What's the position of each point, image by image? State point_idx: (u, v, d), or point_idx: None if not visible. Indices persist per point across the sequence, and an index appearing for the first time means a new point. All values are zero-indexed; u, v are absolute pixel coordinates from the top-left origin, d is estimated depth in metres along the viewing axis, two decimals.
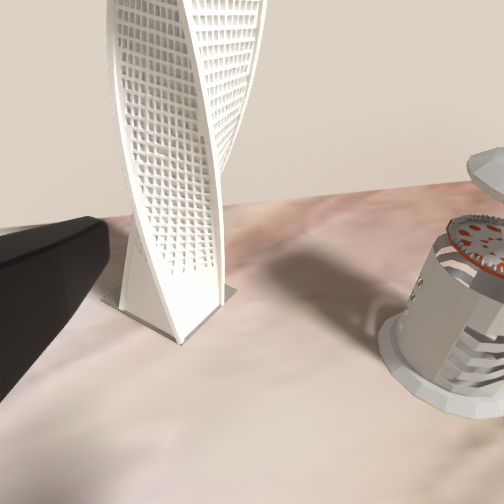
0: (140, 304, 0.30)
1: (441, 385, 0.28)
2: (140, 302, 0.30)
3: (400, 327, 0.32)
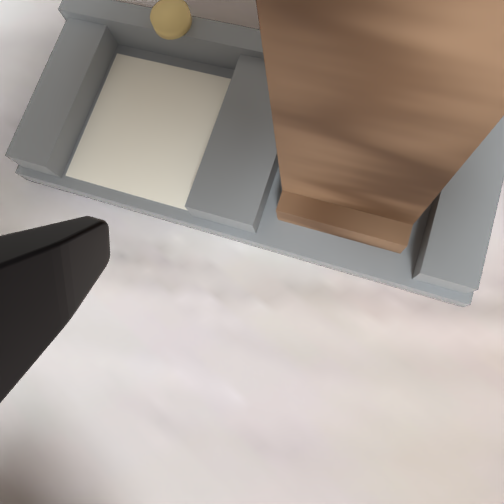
0: None
1: None
2: None
3: None
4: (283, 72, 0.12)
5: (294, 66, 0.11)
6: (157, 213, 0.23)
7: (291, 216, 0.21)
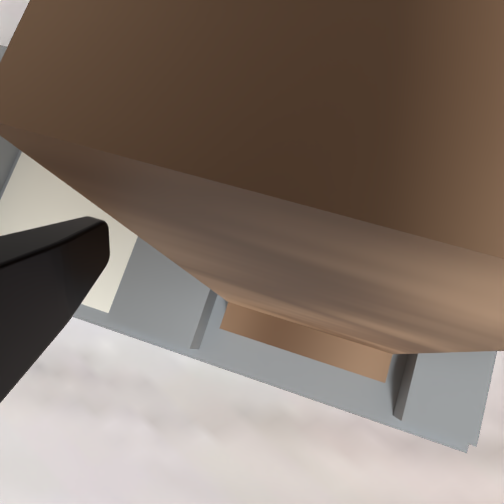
0: None
1: None
2: None
3: None
4: (166, 245, 0.07)
5: (178, 246, 0.07)
6: (79, 318, 0.18)
7: None
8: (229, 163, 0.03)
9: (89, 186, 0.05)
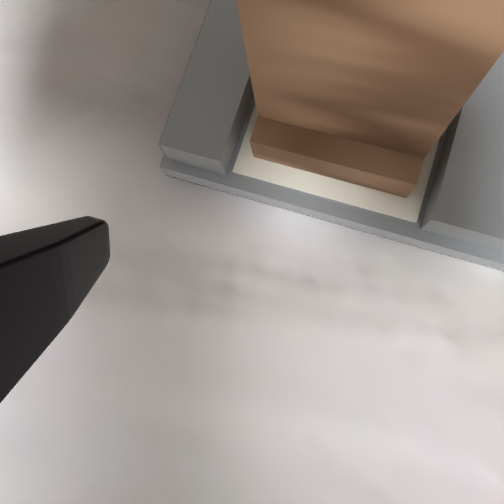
0: None
1: None
2: None
3: None
4: None
5: None
6: (368, 225, 0.17)
7: (269, 149, 0.16)
8: None
9: None
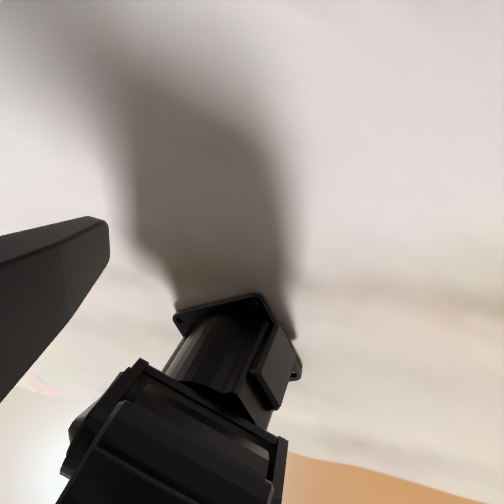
0: None
1: None
2: None
3: None
4: None
5: None
6: None
7: None
8: None
9: None
